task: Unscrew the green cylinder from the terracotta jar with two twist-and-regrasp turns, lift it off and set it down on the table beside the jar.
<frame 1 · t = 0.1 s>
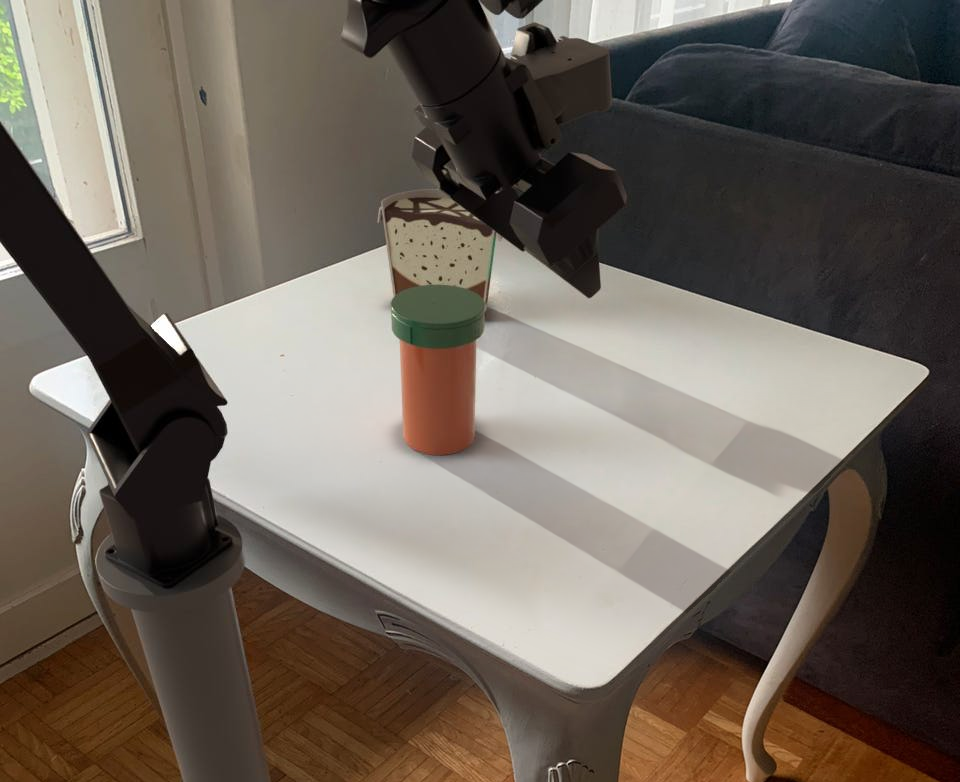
hand: (559, 269, 69), 13 cm above the table, tool tilted 35°, fingers open, 9 cm apart
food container: (449, 303, 96), on the table
jar: (438, 436, 77), on the table
green cylinder: (437, 308, 70), point 11 cm above the table, screwed on, not yet turned
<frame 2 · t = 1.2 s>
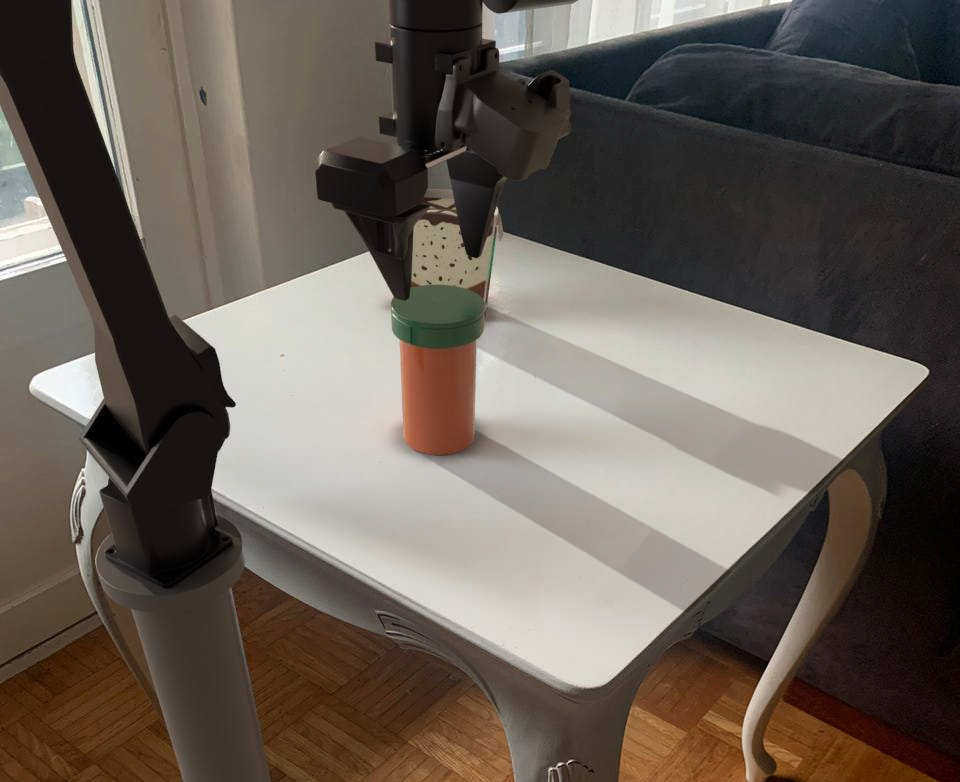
hand: (439, 277, 68), 13 cm above the table, tool pointing down, fingers open, 9 cm apart
nothing on the table moved.
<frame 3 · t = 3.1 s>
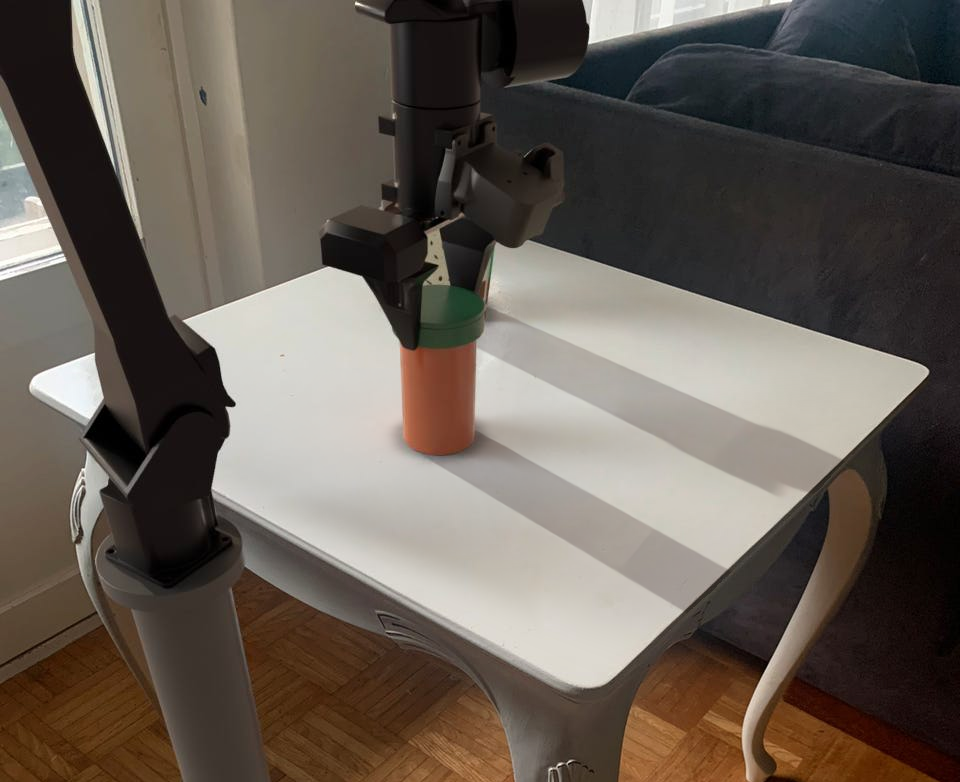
hand: (437, 331, 71), 9 cm above the table, tool pointing down, fingers closed on green cylinder, 7 cm apart
green cylinder: (437, 308, 70), point 11 cm above the table, screwed on, not yet turned, touching gripper
everything else where it was.
when the fingers open (5 cm above the table, at t = 6.9 s): green cylinder stays where it is, point 11 cm above the table.
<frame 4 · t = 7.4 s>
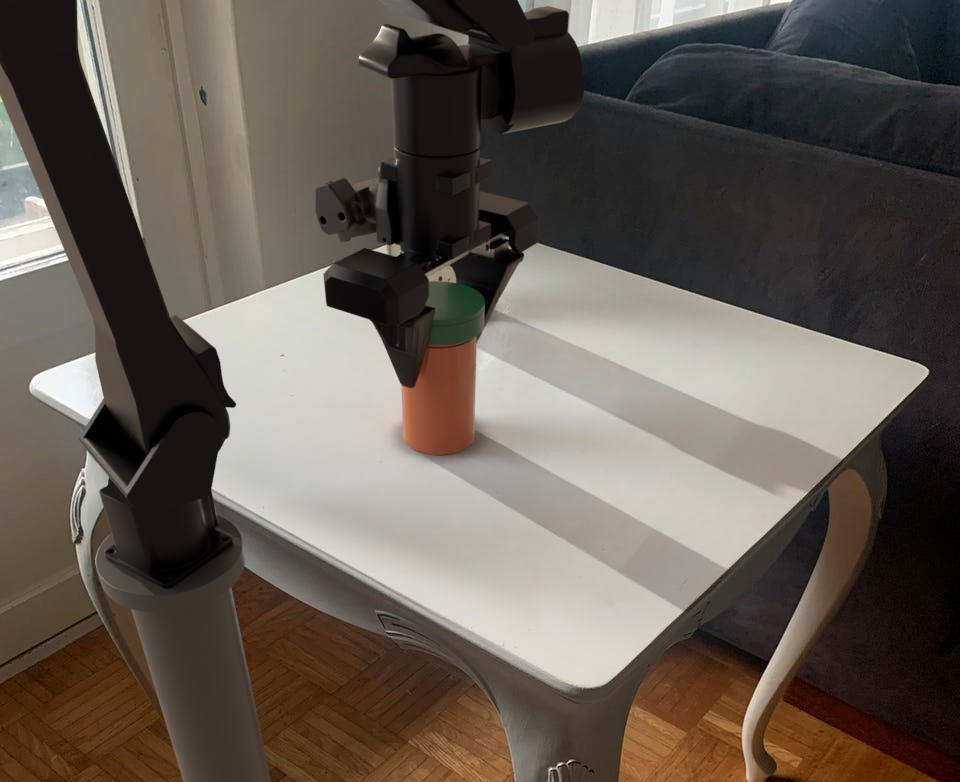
hand: (439, 365, 73), 6 cm above the table, tool pointing down, fingers open, 8 cm apart
green cylinder: (437, 305, 70), point 11 cm above the table, turned 179° so far, risen 0.2 cm, still on its thread
everything else where it was.
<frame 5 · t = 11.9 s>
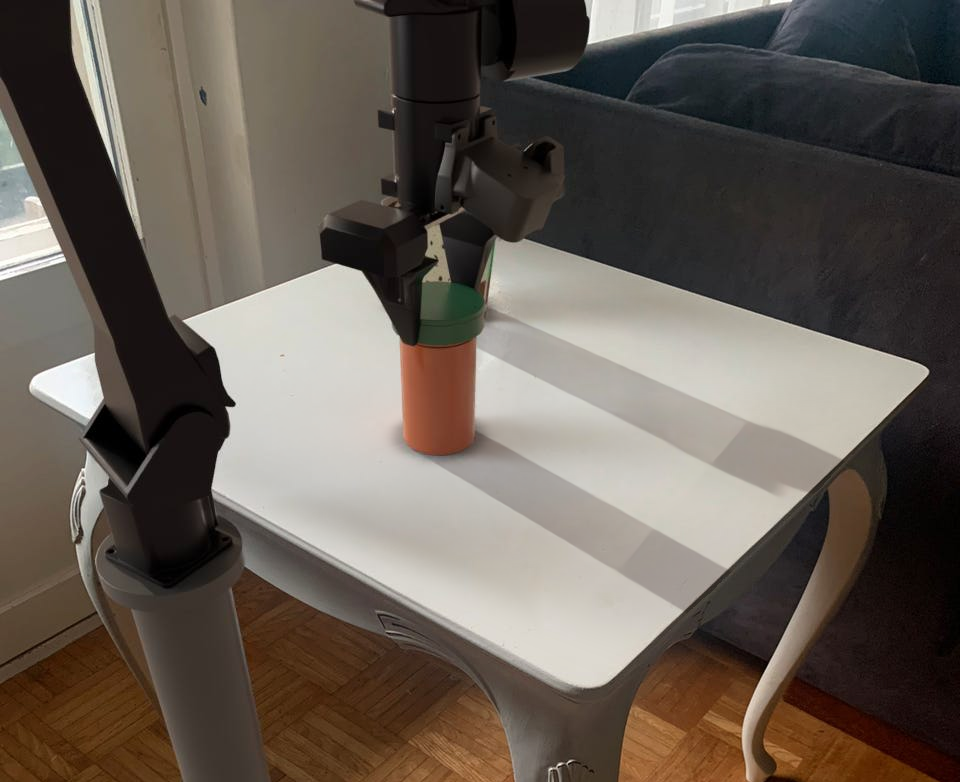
hand: (438, 327, 71), 9 cm above the table, tool pointing down, fingers closed on green cylinder, 7 cm apart
green cylinder: (437, 305, 70), point 11 cm above the table, turned 179° so far, risen 0.2 cm, still on its thread, touching gripper
everything else where it was.
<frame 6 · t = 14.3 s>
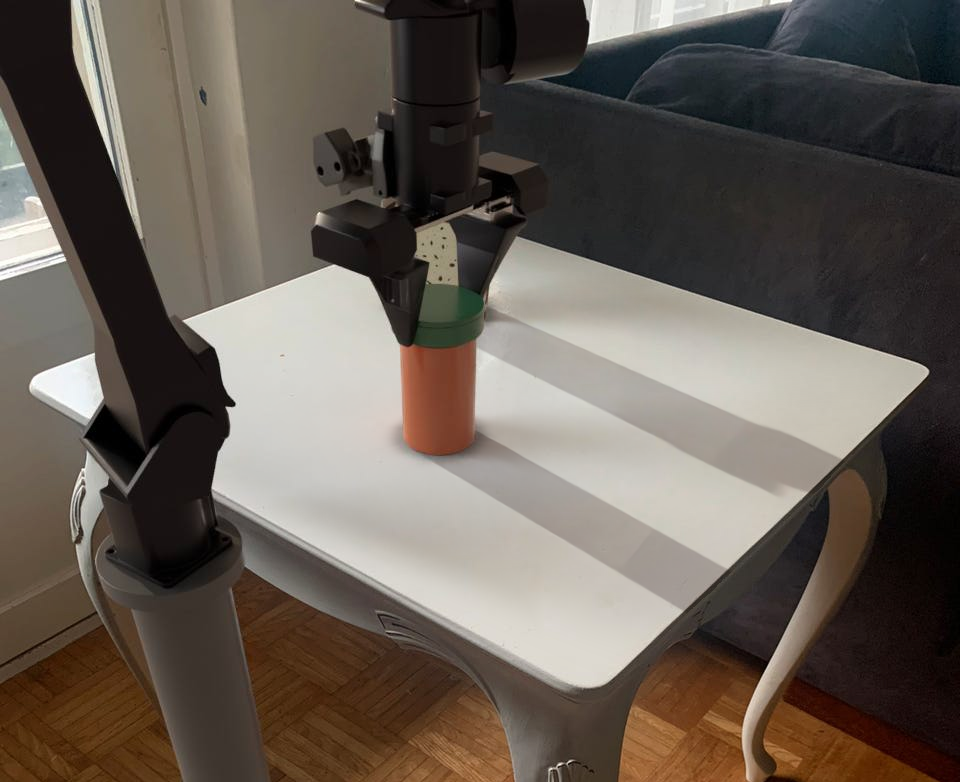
hand: (437, 329, 71), 9 cm above the table, tool pointing down, fingers closed on green cylinder, 7 cm apart
green cylinder: (437, 307, 70), point 11 cm above the table, off its thread, touching gripper
everything else where it was.
when the fingers open (0 cm above the table, at t = 20.3 s): green cylinder stays where it is, point 1 cm above the table.
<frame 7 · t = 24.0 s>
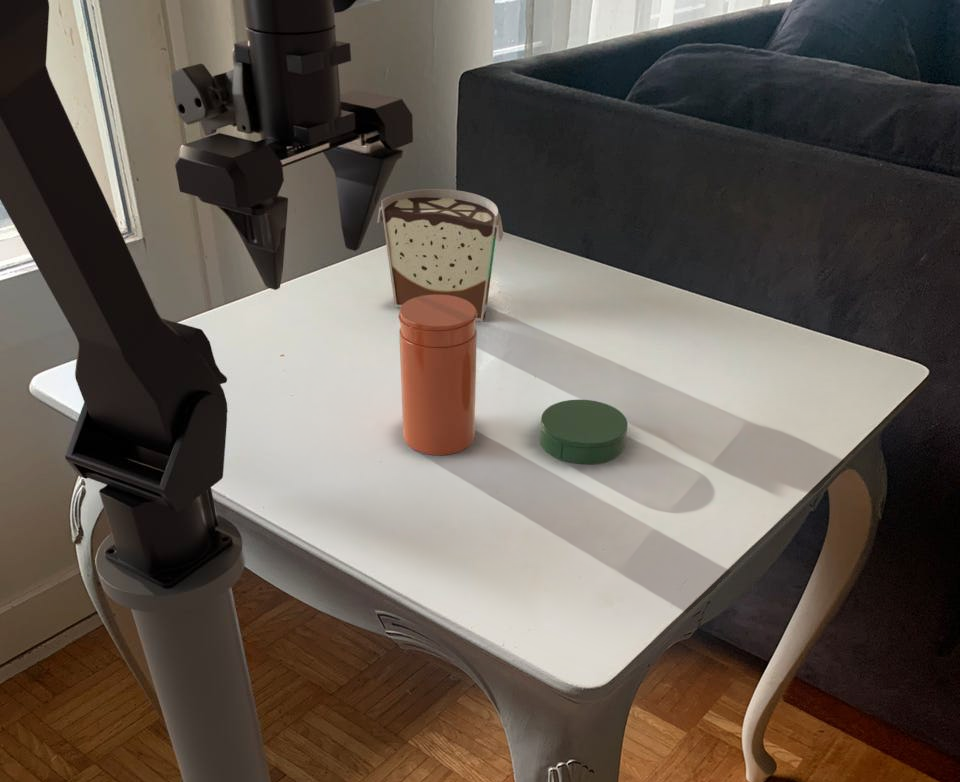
hand: (314, 267, 71), 12 cm above the table, tool pointing down, fingers open, 9 cm apart
green cylinder: (583, 425, 76), point 1 cm above the table, off its thread
everything else where it was.
at the end: green cylinder came off its thread; green cylinder point 1.5 cm above the table; the gripper is holding nothing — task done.
